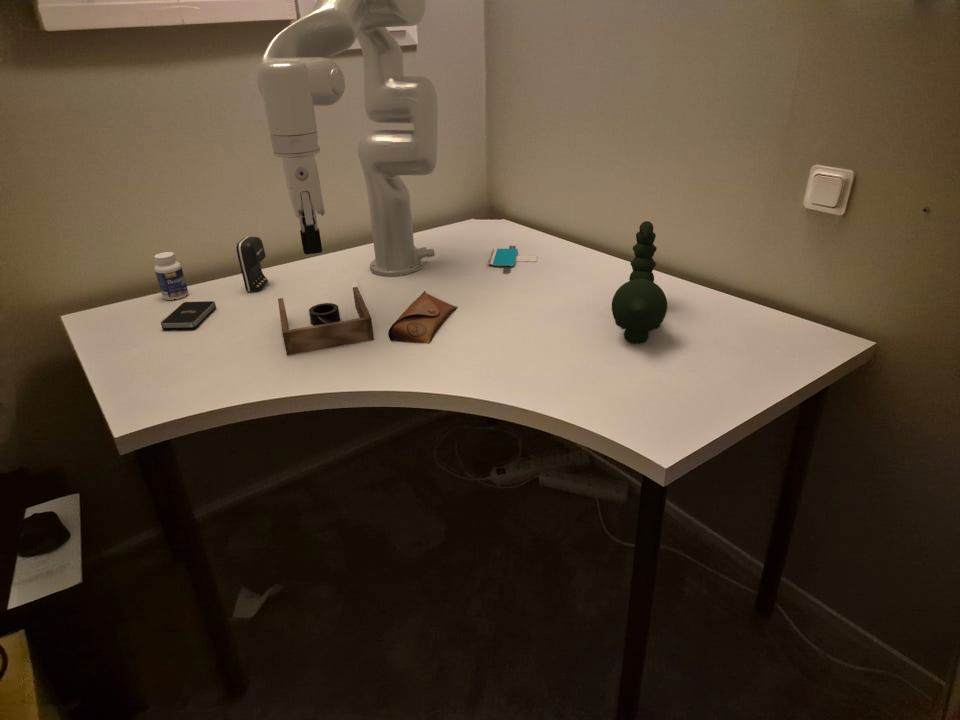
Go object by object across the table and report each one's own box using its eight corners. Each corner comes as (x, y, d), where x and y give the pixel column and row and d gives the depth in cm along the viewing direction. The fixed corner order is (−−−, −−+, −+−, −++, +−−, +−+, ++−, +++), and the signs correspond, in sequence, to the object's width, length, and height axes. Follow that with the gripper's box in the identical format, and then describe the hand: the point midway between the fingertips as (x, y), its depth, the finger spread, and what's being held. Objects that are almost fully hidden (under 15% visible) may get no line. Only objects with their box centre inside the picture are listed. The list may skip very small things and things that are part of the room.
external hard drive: (218, 309, 134) (215, 301, 134) (195, 332, 125) (193, 323, 124) (186, 310, 135) (184, 301, 134) (161, 333, 125) (158, 323, 124)
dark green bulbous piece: (615, 308, 131) (605, 355, 108) (622, 215, 123) (613, 244, 101) (662, 311, 129) (663, 360, 106) (673, 216, 121) (676, 247, 98)
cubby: (360, 306, 132) (357, 286, 130) (374, 340, 118) (371, 318, 116) (282, 319, 128) (277, 298, 126) (286, 355, 114) (282, 333, 112)
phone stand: (534, 276, 146) (534, 269, 145) (483, 275, 147) (483, 269, 146) (538, 248, 163) (538, 242, 162) (492, 248, 164) (492, 242, 164)
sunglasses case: (431, 344, 115) (411, 314, 113) (402, 358, 119) (382, 330, 117) (459, 306, 131) (442, 279, 129) (433, 319, 134) (416, 293, 132)
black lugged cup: (300, 333, 122) (297, 320, 121) (313, 312, 131) (311, 299, 130) (339, 332, 122) (337, 319, 121) (349, 311, 131) (348, 298, 129)
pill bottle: (172, 302, 138) (160, 260, 133) (158, 298, 140) (145, 256, 136) (194, 294, 142) (182, 252, 137) (179, 290, 144) (167, 249, 140)
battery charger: (261, 293, 141) (251, 243, 136) (245, 293, 141) (234, 244, 136) (273, 281, 147) (263, 234, 142) (257, 281, 147) (246, 234, 142)
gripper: (323, 149, 98) (339, 262, 106) (314, 136, 110) (329, 238, 119) (273, 153, 96) (294, 268, 104) (270, 140, 108) (288, 243, 117)
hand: (313, 252), depth 111 cm, fingers closed
